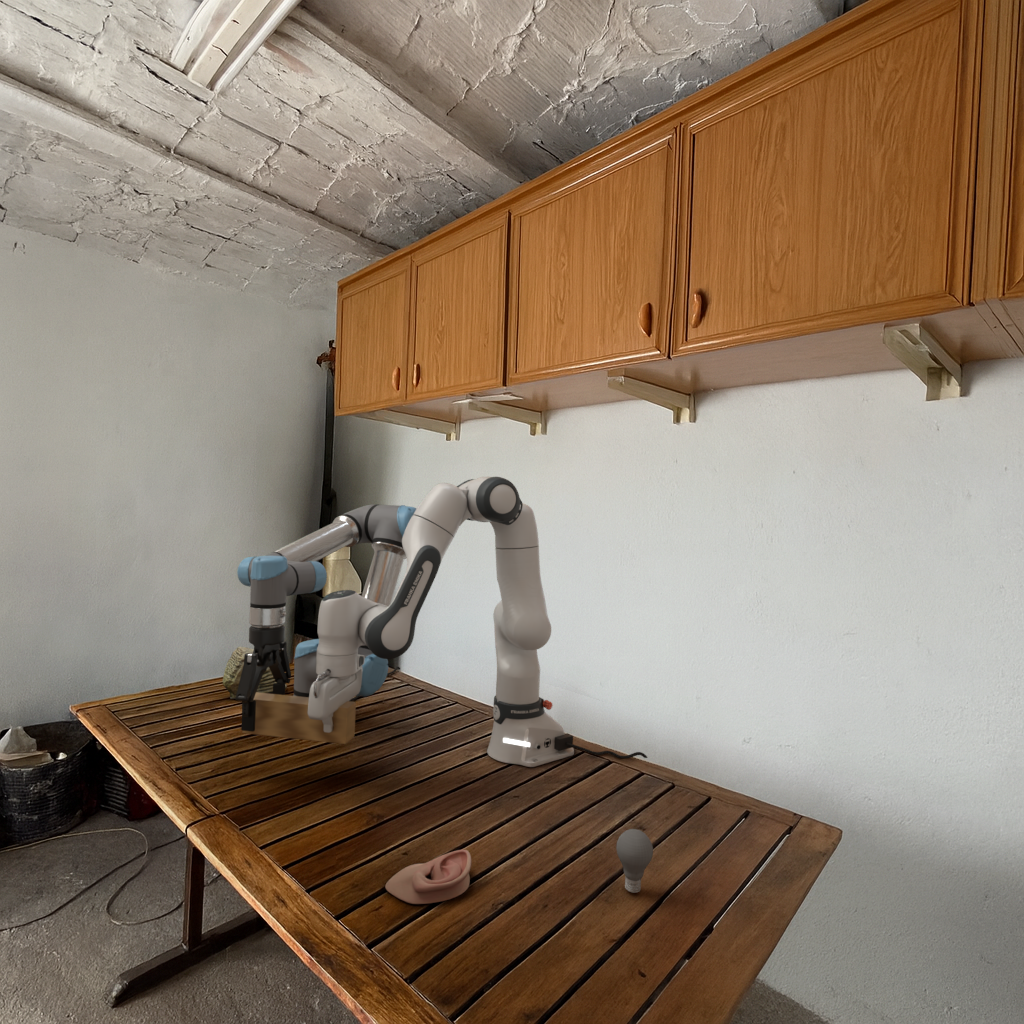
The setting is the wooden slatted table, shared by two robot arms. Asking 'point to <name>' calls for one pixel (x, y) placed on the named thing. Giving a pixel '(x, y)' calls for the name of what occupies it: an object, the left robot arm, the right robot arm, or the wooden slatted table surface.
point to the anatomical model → (432, 879)
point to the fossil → (235, 671)
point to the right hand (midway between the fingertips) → (334, 726)
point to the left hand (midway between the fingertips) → (263, 720)
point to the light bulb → (634, 857)
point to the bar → (300, 719)
